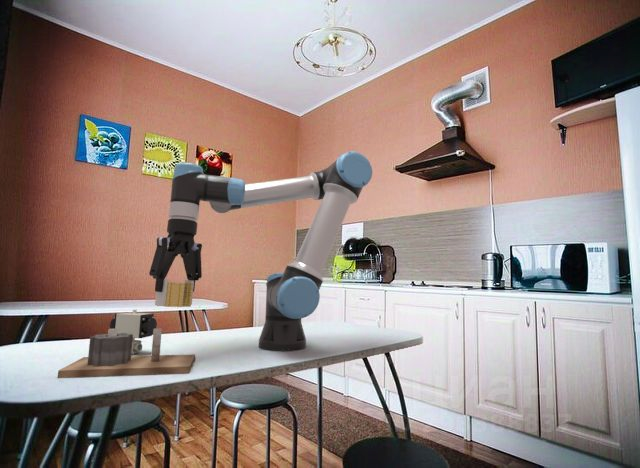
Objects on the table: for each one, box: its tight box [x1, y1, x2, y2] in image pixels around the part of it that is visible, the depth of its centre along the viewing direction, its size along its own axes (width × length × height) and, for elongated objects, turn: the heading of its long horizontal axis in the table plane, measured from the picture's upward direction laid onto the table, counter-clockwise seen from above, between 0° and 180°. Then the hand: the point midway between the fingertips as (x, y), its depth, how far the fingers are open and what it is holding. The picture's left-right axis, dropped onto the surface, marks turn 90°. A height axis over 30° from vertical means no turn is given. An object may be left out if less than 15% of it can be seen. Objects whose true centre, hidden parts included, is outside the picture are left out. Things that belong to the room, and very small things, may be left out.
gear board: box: [57, 327, 196, 379], centre depth 84 cm, size 26×13×9 cm, turn 103°
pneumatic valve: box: [109, 309, 158, 356], centre depth 100 cm, size 6×12×12 cm, turn 79°
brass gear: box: [155, 281, 193, 308], centre depth 94 cm, size 8×8×6 cm
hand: (174, 304), depth 93 cm, fingers closed on brass gear, 8 cm apart
